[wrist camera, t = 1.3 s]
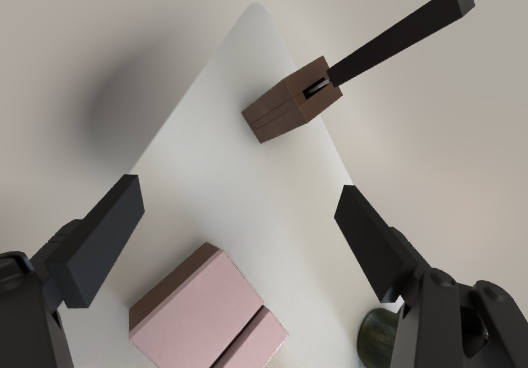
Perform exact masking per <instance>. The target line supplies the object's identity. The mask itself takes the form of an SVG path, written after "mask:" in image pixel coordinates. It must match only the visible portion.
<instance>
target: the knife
mask: <svg viewBox="0 0 528 368" xmlns="http://www.w3.org/2000/svg"><path fill="white" fill-rule="evenodd" d="M474 7H475V3H474V0H431V1H429V2H428V3H427V4H425V5H423V6H422V7H420V8H419V9H417V10H416V11H415V12H413V13H411V14H410V15H408V16H407V17H406V18H404V19H402V20H401V21H399V22H398V23H396V24H395V25H394V26H392V27H391V28H389V29H388V30H386V31H384V32H383V33H382V34H380V35H379V36H377V37H376V38H374V39H373V40H371V41H370V42H368V43H367V44H365V45H364V46H362V47H361V48H359V49H358V50H356V51H355V52H353V53H352V54H350V55H349V56H347V57H346V58H344V59H343V60H341V61H340V62H338V63H337V64H335V65H334V66H332V67H331V68H329V69H328V70H326V73H327V75H328V77H329V78H327V79H326V80H324V81H322V82H321V83H319V84H318V85H316V86H314V87H313V88H311V89H310V90H308V91H306V92H305V93H303V94H304V96H307V95H309V94H310V93H312V92H314V91H315V90H317V89H319V88H320V87H322V86H324V85H325V84H327V83H329V82H330V81H331V83H332V85H333V87H334V88H336V87H337V86H339V85H341V84H343V83H345V82H347V81H348V80H350V79H352V78H354V77H356V76H357V75H359V74H361V73H363V72H364V71H366V70H368V69H370V68H372V67H373V66H375V65H377V64H379V63H381V62H383V61H384V60H386V59H388V58H390V57H392V56H393V55H395V54H397V53H399V52H400V51H402V50H404V49H406V48H408V47H410V46H411V45H413V44H415V43H417V42H419V41H420V40H422V39H424V38H426V37H428V36H429V35H431V34H433V33H435V32H437V31H438V30H440V29H442V28H444V27H446V26H447V25H449V24H451V23H453V22H455V21H457V20H458V19H460V18H462V17H463V16H464V15H466V14H467V13H468V12H469V11H470V10H471V9H472V8H474Z"/></svg>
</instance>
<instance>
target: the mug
mask: <svg viewBox="0 0 528 368" xmlns="http://www.w3.org/2000/svg"><path fill="white" fill-rule="evenodd" d="M399 318H400V315H399V316H398V317H397V316H396V313H394V312H391V311H389V310H386V309H383V308H382V309H377V310H374V311H373V312H371V313H370V314H369V315H368V316H367V318H366V319H365V321H364V323H363V325H362V328H361V331H360V335H359V354H360V357H361V360H362V362H363V364H364V366H365V367H366V368H390V365H391V360H392V355H393V349H394V344H395V339H396V333H397V328H398V323H399Z"/></svg>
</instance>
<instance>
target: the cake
mask: <svg viewBox="0 0 528 368" xmlns="http://www.w3.org/2000/svg"><path fill="white" fill-rule="evenodd" d="M263 303H264V302H263V300H262V299H261V298H260V297H259V295H258V294H257V293H256V291H255V290H254V289H253V288H252V286H251V285H250V284H249V282H248V281H247V280H246V279H245V277H244V276H243V275H242V273H241V272H240V271H239V270H238V268H237V267H236V266H235V264H234V263H233V262H232V261H231V259H230V258H229V257H228V255H227V254H226V253H225V252H224V251H223V250H221V249H219V248H217V247H215V246H213V245H211V244H209V243H207V242H206V243H205V244H203V245H202V246H201V247H200V248H199V249H198V250H197V251H195V252H194V253H193V254H192V255H191V256H190V257H189V258H187V259H186V260H185V261H184V262H183V263H182V264H181V265H179V266H178V267H177V268H176V269H175V270H174V271H173V272H171V273H170V274H169V275H168V276H167V277H166V278H165V279H163V280H162V281H161V282H160V283H159V284H158V285H157V286H155V287H154V288H153V289H152V290H151V291H150V292H149V293H147V294H146V295H145V296H144V297H143V298H142V299H141V300H139V301H138V302H137V303H136V304H135V305H134V306H133V307H131V308H130V309H129V340H130V341H131V342H132V343H133V344H134V345H135V346H136V347H137V348H138V349H140V350H141V351H142V352H143V353H144V354H145V355H146V356H147V357H148V358H149V359H150V360H151V361H152V362H153V363H154V364H155V365H156V366H157V367H158V368H209V367H210V366H211V365H212V364H213V362H214V361H215V360H216V359H217V358H218V357H219V355H220V354H221V353H222V352H223V351H224V349H225V348H226V347H227V346H228V345H229V343H230V342H231V341H232V340H233V339H234V338H235V336H236V335H237V334H238V333H239V332H240V330H241V329H242V328H243V327H244V326H245V324H246V323H247V322H248V321H249V320H250V319H251V317H252V316H253V315H254V314H255V313H256V311H257V310H258V309H259V308H260V307H261V305H262V304H263Z"/></svg>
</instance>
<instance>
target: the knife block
mask: <svg viewBox="0 0 528 368" xmlns="http://www.w3.org/2000/svg"><path fill="white" fill-rule="evenodd" d="M328 69H329V66H328V64H327V62H326V60H325V58H324V56H321V57H319V58H318V59H316V60H314V61H313V62H311V63H309V64H308V65H306V66H304V67H302V68H301V69H300V70H297V71H296V72H294V73H292V74H291V75H289V76H287V77H286V78H284V79H283V80H281V81H280V82H279V83H278V84H276V85H275V86H274V87H272V88H271V89H270V90H269V91H267V92H266V93H265V94H264V95H262V96H261V97H260V98H259V99H257V100H256V101H255V102H254V103H252V104H251V105H250V106H249V107H247V108H246V109H245V110H244V111H242V112H241V113H242V114H243V116H244V118H245V119H246V121H247V122H248V124H249V125H250V127H251V129H252V130H253V132H254V134H255V135H256V137H257V138H258V140H259V142H260V143H263V142H266V141H268V140H270V139H273V138H275V137H277V136H279V135H282V134H284V133H286V132H288V131H291V130H293V129H295V128H297V127H300V126H302V125H304V124H306V123H308V122H309V121H311V120H312V119H313V118H315V117H316V116H317V115H318V114H320V113H321V112H322V111H323V110H325V109H326V108H327V107H329V106H330V105H331V104H333V103H334V102H335V101H336V100H338V99H339V98H340V97H341V96H343V94H342V92H341V90H340V88H339V86H337V87H336V88H334V87H333V85H332V83H331V81H330V82H329V83H327V84H325V85H324V86H322V87H320V88H319V89H317V90H315V91H314V92H312V93H310V94H309V95H307V96H304V94H303V93H305V92H306V91H308V90H310V89H311V88H313V87H314V86H316V85H318V84H319V83H321V82H322V81H324V80H326V79H327V78H329V77H328V75H327V73H326V70H328Z"/></svg>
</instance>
